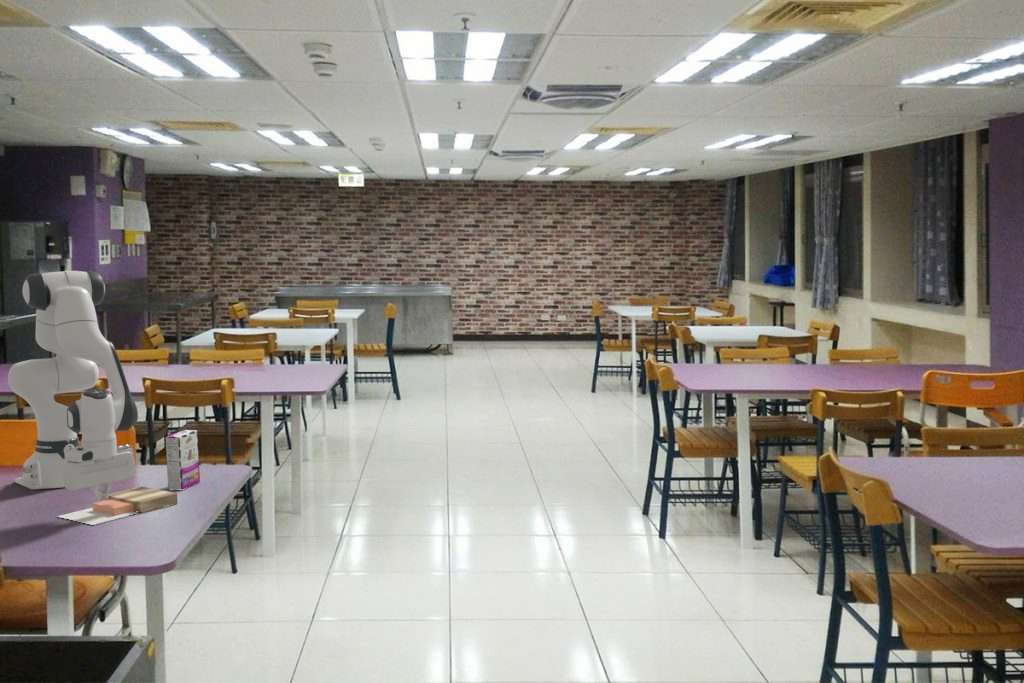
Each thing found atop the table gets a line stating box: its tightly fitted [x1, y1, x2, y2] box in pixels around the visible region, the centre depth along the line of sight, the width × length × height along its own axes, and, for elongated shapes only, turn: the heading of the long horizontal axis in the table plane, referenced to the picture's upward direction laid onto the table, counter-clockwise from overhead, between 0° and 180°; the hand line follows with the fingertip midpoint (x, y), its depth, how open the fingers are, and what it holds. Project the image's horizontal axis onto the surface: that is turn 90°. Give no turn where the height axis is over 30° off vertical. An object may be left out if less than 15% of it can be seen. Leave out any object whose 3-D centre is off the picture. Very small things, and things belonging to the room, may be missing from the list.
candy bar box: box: [164, 429, 201, 490], centre depth 316 cm, size 11×5×16 cm, turn 168°
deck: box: [104, 486, 178, 513], centre depth 295 cm, size 16×12×3 cm
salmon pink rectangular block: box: [92, 499, 134, 516], centre depth 287 cm, size 10×6×2 cm, turn 56°
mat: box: [56, 507, 138, 526], centre depth 283 cm, size 16×14×1 cm
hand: (102, 499), depth 284 cm, fingers closed
